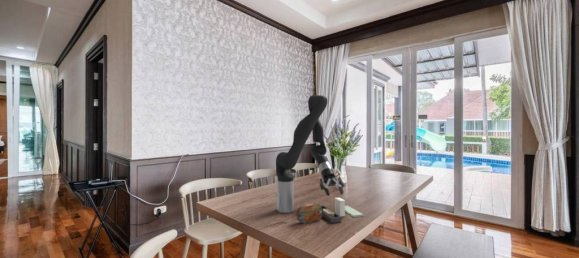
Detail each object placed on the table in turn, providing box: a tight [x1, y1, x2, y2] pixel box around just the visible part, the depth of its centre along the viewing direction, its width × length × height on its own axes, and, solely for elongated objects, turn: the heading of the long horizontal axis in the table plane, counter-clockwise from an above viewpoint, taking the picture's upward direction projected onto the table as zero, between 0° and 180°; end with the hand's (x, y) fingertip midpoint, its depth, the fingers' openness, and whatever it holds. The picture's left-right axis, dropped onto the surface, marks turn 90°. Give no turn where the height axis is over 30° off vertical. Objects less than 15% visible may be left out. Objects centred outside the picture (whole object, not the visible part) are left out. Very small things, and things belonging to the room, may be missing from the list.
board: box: [345, 205, 364, 218], centre depth 139 cm, size 6×16×1 cm, turn 18°
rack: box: [321, 204, 342, 224], centre depth 132 cm, size 6×20×2 cm, turn 18°
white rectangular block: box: [334, 197, 346, 218], centre depth 134 cm, size 3×6×8 cm, turn 18°
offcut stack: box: [323, 208, 335, 217], centre depth 132 cm, size 3×10×3 cm, turn 19°
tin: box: [295, 203, 323, 225], centre depth 125 cm, size 15×3×8 cm, turn 118°
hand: (335, 194), depth 139 cm, fingers open, 8 cm apart
